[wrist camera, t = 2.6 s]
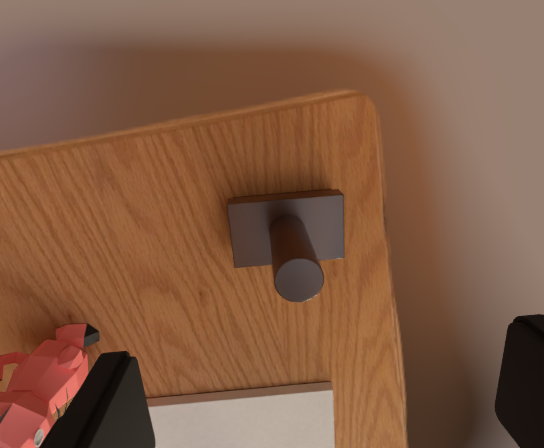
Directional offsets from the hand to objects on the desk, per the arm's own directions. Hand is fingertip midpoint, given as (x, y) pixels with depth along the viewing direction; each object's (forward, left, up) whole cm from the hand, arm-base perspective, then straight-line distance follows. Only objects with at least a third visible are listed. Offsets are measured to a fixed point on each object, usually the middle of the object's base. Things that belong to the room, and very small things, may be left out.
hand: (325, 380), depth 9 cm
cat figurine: (+18, +10, -18) cm, 27 cm away
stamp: (0, +1, -17) cm, 17 cm away
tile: (+6, +24, -17) cm, 31 cm away
